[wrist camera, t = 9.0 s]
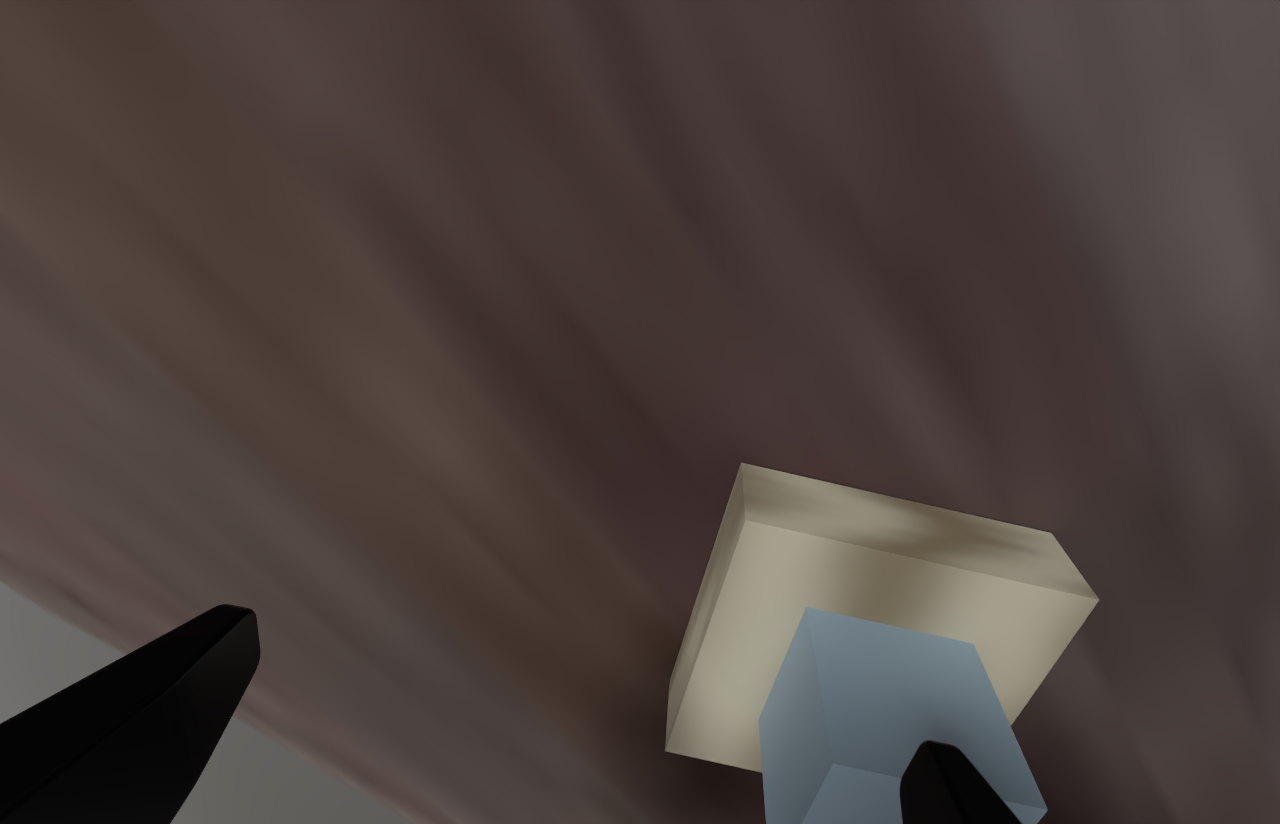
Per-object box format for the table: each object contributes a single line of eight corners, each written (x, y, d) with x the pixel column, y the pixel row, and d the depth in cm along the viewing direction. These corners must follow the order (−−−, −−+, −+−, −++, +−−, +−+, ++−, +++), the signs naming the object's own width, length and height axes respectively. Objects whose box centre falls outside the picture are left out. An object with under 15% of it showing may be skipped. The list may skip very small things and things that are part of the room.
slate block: (973, 643, 20) (1047, 810, 16) (908, 751, 22) (957, 923, 18) (806, 606, 20) (833, 763, 15) (758, 719, 22) (770, 883, 18)
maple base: (1051, 533, 22) (1099, 599, 19) (924, 737, 26) (949, 813, 24) (741, 462, 21) (745, 520, 19) (669, 680, 26) (665, 751, 23)
